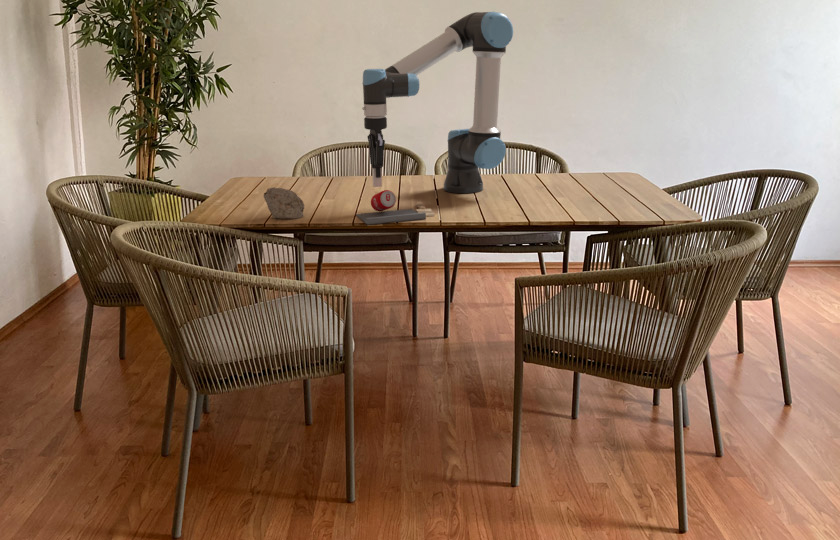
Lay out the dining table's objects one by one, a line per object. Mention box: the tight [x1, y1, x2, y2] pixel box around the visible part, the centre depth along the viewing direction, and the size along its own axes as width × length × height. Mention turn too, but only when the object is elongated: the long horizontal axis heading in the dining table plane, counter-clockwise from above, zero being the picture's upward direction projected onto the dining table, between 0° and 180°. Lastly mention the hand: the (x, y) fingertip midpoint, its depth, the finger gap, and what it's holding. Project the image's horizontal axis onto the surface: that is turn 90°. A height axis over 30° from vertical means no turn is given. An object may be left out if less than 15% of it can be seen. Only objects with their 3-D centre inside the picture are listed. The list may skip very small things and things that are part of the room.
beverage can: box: [370, 189, 397, 212], centre depth 268 cm, size 6×6×12 cm
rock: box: [263, 187, 305, 219], centre depth 268 cm, size 14×10×8 cm
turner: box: [415, 201, 435, 218], centre depth 274 cm, size 17×5×1 cm, turn 9°
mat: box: [355, 208, 427, 226], centre depth 266 cm, size 20×14×2 cm
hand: (377, 186), depth 273 cm, fingers closed
